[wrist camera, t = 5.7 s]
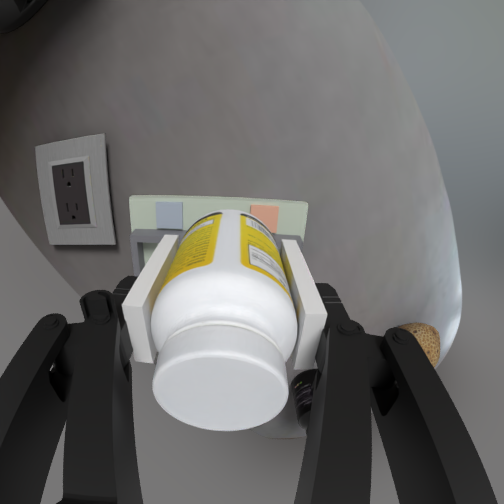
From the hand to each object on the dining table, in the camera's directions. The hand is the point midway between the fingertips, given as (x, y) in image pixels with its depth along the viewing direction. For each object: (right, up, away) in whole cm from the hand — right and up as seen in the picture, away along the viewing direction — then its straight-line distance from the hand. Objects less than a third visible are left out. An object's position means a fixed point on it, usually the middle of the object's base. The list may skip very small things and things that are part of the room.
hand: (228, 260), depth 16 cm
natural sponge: (+26, -12, +27) cm, 39 cm away
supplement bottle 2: (+11, -21, +30) cm, 39 cm away
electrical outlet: (-20, +8, +15) cm, 27 cm away
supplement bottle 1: (0, 0, +1) cm, 1 cm away
